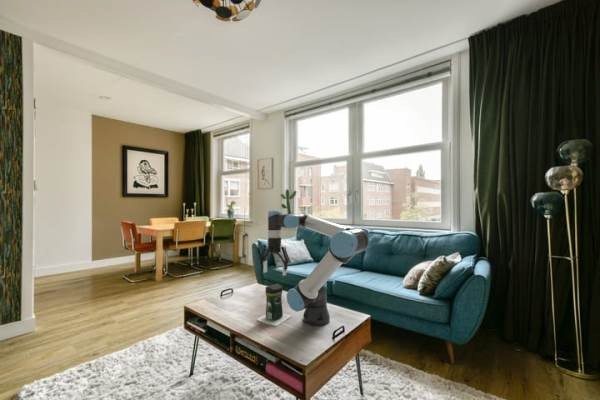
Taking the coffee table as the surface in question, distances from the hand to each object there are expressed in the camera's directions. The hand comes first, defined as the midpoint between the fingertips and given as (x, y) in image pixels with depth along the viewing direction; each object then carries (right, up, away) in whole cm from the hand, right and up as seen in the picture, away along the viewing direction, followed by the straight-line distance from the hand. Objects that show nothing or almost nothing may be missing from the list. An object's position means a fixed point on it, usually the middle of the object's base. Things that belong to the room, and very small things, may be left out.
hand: (274, 273), depth 158 cm
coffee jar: (0, -25, -1) cm, 25 cm away
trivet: (0, -25, -2) cm, 25 cm away
